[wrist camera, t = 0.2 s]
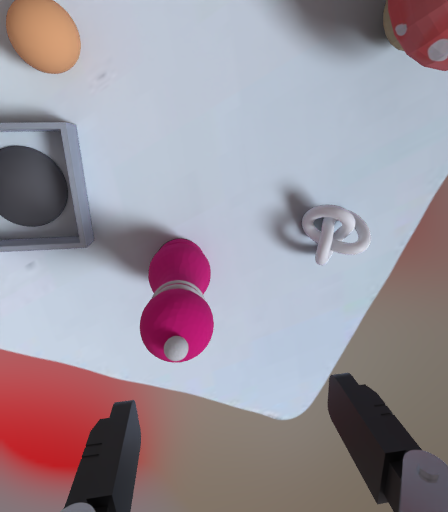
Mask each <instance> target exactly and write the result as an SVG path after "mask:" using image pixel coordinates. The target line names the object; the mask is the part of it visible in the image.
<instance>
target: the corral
mask: <svg viewBox="0 0 448 512" xmlns="http://www.w3.org/2000/svg"><path fill="white" fill-rule="evenodd" d="M16 131H61V135H62V141H63V147H64V153H65V159H66V164H67V170H68V176H69V182H70V187H71V193H72V199H73V205H74V211H75V216H76V222H77V228H78V234H79V236H74V237H52V238H30V239H8V240H0V252H10V251H30V250H51V249H71V248H87V247H88V246H89V245H90V244H91V243H92V242H93V241H94V235H93V229H92V223H91V216H90V210H89V204H88V197H87V191H86V184H85V178H84V172H83V165H82V159H81V153H80V146H79V140H78V133H77V127H76V125H74V124H70V123H67V122H31V123H0V132H16Z"/></svg>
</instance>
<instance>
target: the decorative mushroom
mask: <svg viewBox="0 0 448 512" xmlns="http://www.w3.org/2000/svg"><path fill="white" fill-rule="evenodd" d="M383 26H384V30H385V35H386V37H387V39H388V40H389V42H390V43H391V45H393V46H394V47H395V48H397V49H398V50H402V51H405V52H406V54H407V55H408V56H410V57H411V58H413V59H414V60H415V61H417V62H418V63H419V64H421V65H422V66H424V67H428V68H433V69H437V70H442V71H447V70H448V0H386V4H385V8H384V11H383Z"/></svg>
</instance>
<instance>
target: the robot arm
mask: <svg viewBox="0 0 448 512" xmlns="http://www.w3.org/2000/svg"><path fill="white" fill-rule="evenodd" d="M328 411H329V414H330V417H331V420H332V422H333V423H334V425H335V427H336V429H337V431H338V433H339V435H340V436H341V438H342V440H343V442H344V444H345V445H346V448H347V449H348V451H349V453H350V455H351V457H352V459H353V460H354V462H355V464H356V466H357V468H358V470H359V471H360V473H361V475H362V477H363V479H364V481H365V482H366V484H367V486H368V488H369V490H370V492H371V494H372V495H373V497H374V499H375V501H376V503H377V504H381V503H387V502H389V504H390V506H391V507H392V509H393V511H394V512H448V466H447V465H446V464H445V463H444V462H443V461H442V460H441V459H440V458H438V457H436V456H435V455H433V454H431V453H429V452H426V451H422V449H421V448H420V447H419V446H418V445H417V443H416V442H415V441H414V439H413V438H412V437H411V436H410V434H409V433H408V432H407V431H406V429H405V428H404V427H403V426H402V424H401V423H400V422H399V420H398V419H397V418H396V417H395V415H393V414H392V412H391V411H390V409H389V408H388V407H387V406H386V405H385V403H384V402H383V400H382V399H381V398H380V396H379V395H378V394H377V393H376V392H374V391H373V390H372V389H370V388H369V387H367V386H366V385H358V383H357V382H356V380H355V379H354V378H353V376H351V374H350V373H344V374H336V375H331V376H330V378H329V393H328ZM140 445H141V432H140V425H139V420H138V414H137V410H136V404H135V401H134V400H131V401H124V402H116V403H114V405H113V408H112V411H111V414H110V418H106V419H100V420H99V421H98V423H97V424H96V425H95V426H94V428H93V429H92V430H91V432H90V435H89V438H88V440H87V443H86V448H85V449H84V452H83V455H82V459H81V461H80V464H79V467H78V470H77V472H76V475H75V478H74V481H73V484H72V487H71V490H70V493H69V496H68V499H67V502H66V504H65V507H64V509H63V510H62V511H60V512H130V510H131V504H132V498H133V490H134V485H135V478H136V472H137V465H138V459H139V452H140Z"/></svg>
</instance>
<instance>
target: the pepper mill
mask: <svg viewBox="0 0 448 512" xmlns="http://www.w3.org/2000/svg"><path fill="white" fill-rule="evenodd" d="M148 278H149V283H150V286H151V288H152V291H153V292H154V295H153V297H152V299H151V300H150V301H149V303H148V304H147V305H146V307H145V308H144V310H143V313H142V316H141V320H140V333H141V337H142V340H143V343H144V345H145V346H146V348H147V349H148V350H149V352H150V353H152V354H153V355H154V356H156V357H158V358H159V359H161V360H164V361H168V362H183V361H187V360H190V359H192V358H194V357H196V356H198V355H199V354H200V353H201V352H202V351H203V350H204V349H205V348H206V346H207V345H208V343H209V341H210V339H211V336H212V333H213V327H214V322H213V315H212V312H211V309H210V307H209V305H208V304H207V302H206V301H205V299H204V296H203V294H204V292H205V291H206V289H207V287H208V285H209V282H210V265H209V262H208V260H207V258H206V257H205V255H204V254H203V253H202V251H201V249H200V248H199V247H198V246H197V245H196V244H195V243H193V242H192V241H189V240H186V239H175V240H171V241H169V242H167V243H166V244H164V245H163V246H162V247H161V248H160V250H159V251H158V252H157V253H156V254H155V256H154V257H153V259H152V261H151V263H150V266H149V276H148Z"/></svg>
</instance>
